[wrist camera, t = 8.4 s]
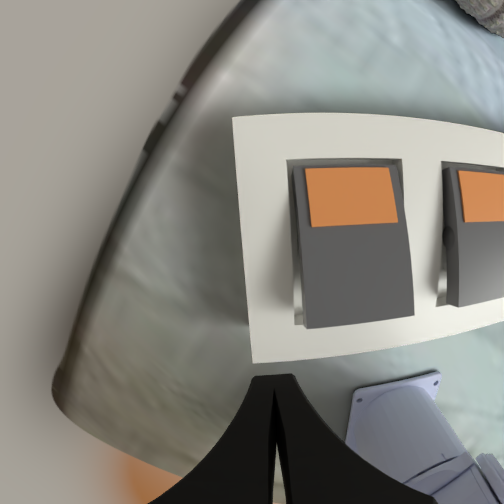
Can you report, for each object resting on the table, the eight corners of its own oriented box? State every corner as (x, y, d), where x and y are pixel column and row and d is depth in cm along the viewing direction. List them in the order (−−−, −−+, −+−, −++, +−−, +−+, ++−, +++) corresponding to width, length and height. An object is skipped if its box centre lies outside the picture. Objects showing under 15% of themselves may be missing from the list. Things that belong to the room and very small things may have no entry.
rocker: (400, 313, 13) (415, 315, 12) (302, 324, 13) (307, 329, 12) (385, 175, 14) (396, 164, 12) (290, 177, 14) (293, 165, 13)
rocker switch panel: (533, 284, 18) (561, 299, 14) (254, 327, 19) (252, 363, 15) (539, 153, 15) (571, 154, 11) (238, 132, 16) (231, 117, 12)
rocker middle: (501, 290, 13) (517, 294, 12) (443, 302, 14) (459, 307, 12) (493, 177, 13) (510, 172, 12) (435, 172, 13) (450, 166, 12)
